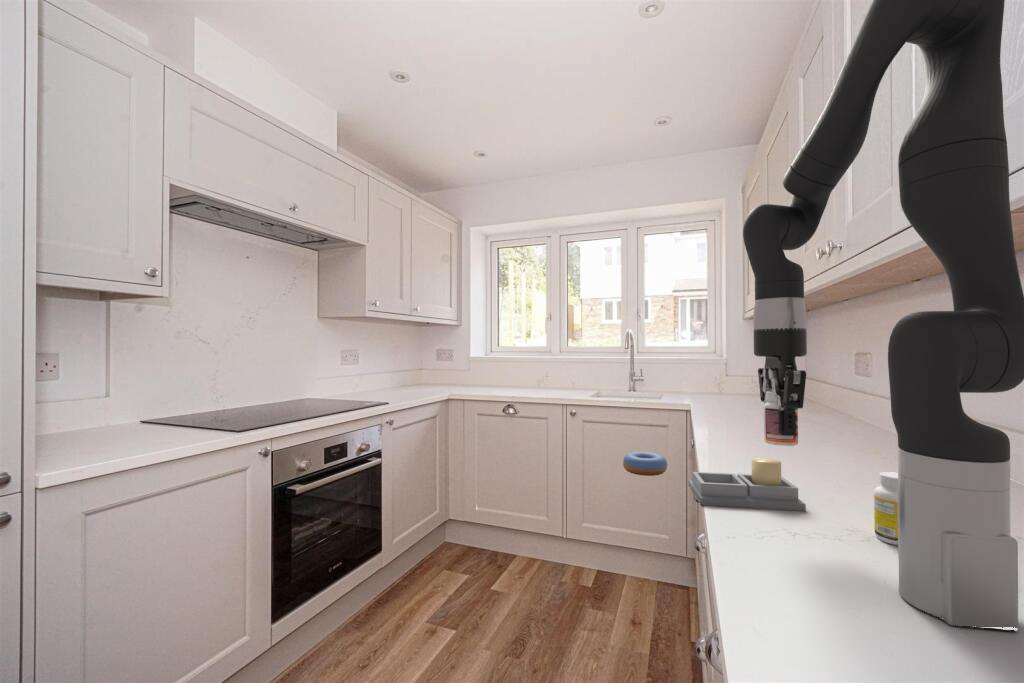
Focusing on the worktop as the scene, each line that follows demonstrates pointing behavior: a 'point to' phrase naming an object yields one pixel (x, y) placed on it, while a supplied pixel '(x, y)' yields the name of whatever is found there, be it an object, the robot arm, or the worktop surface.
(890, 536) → the supplement bottle
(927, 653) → the worktop surface
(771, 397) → the pill bottle
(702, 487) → the grey compartment tray
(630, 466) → the doughnut
